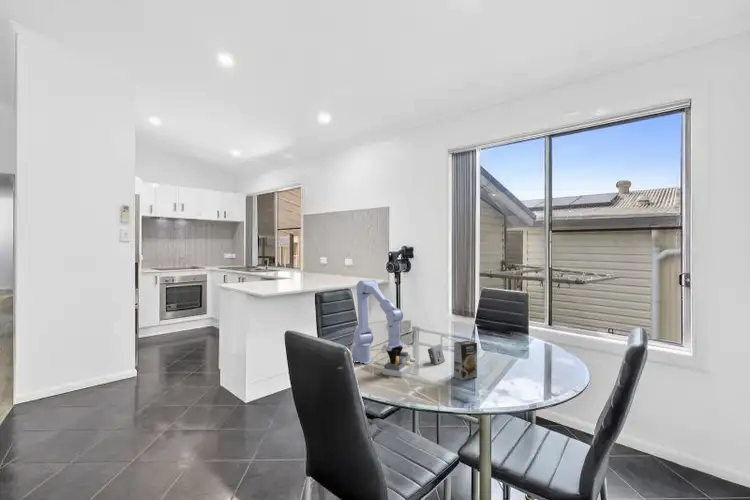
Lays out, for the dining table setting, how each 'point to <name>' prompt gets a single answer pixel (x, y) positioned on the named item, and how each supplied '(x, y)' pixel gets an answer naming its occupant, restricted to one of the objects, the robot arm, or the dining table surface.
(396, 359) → the cap
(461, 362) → the coffee box
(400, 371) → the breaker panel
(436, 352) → the electrical switch
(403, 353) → the block
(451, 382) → the dining table surface
